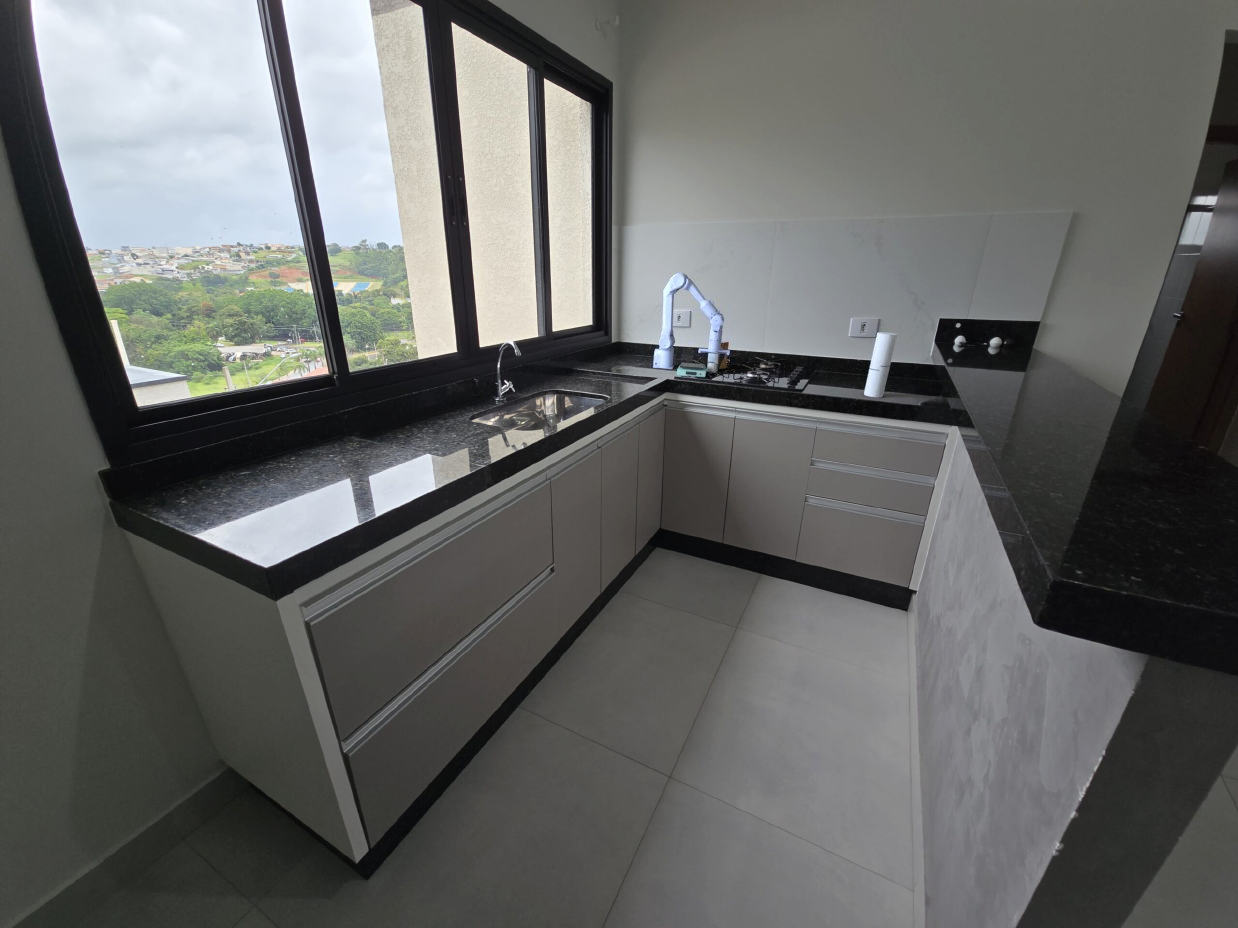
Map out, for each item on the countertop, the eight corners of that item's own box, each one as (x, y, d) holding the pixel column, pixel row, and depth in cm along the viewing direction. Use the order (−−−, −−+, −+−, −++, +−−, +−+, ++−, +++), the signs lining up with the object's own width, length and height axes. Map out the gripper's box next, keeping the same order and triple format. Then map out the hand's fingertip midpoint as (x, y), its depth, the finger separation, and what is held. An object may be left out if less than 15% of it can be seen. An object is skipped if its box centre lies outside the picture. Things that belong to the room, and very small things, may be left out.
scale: (676, 375, 233) (677, 369, 232) (679, 370, 244) (679, 365, 243) (705, 377, 231) (705, 371, 230) (706, 372, 241) (706, 367, 240)
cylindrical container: (884, 398, 205) (899, 335, 196) (866, 396, 206) (880, 333, 197) (880, 394, 211) (894, 333, 202) (862, 392, 213) (875, 331, 204)
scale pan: (679, 367, 233) (679, 365, 233) (681, 364, 241) (681, 362, 241) (703, 369, 231) (703, 367, 231) (704, 366, 239) (705, 364, 239)
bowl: (706, 372, 242) (707, 363, 240) (706, 370, 247) (707, 361, 245) (717, 373, 241) (718, 363, 239) (717, 371, 246) (718, 362, 244)
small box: (717, 370, 249) (719, 343, 244) (706, 368, 253) (708, 341, 249) (726, 368, 254) (729, 341, 250) (716, 366, 258) (718, 340, 254)
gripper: (699, 340, 236) (696, 369, 241) (730, 342, 233) (727, 371, 238) (700, 338, 243) (697, 366, 248) (730, 340, 240) (727, 369, 245)
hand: (712, 369), depth 243 cm, fingers closed on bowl, 5 cm apart
